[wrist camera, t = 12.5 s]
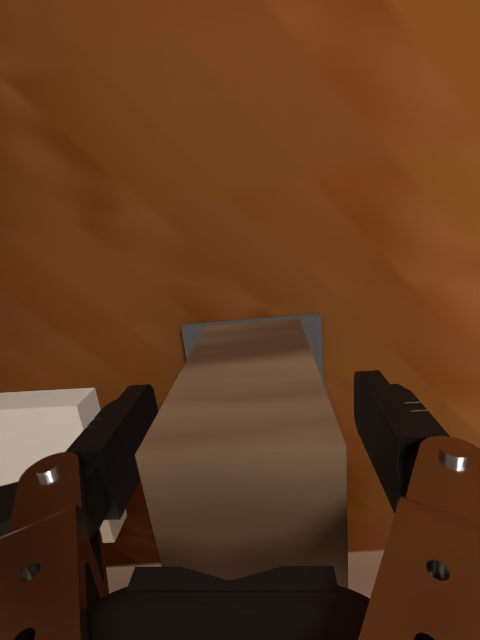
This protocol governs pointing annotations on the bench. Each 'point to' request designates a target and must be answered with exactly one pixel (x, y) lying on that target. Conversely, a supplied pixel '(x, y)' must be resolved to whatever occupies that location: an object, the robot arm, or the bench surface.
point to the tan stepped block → (247, 458)
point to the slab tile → (45, 433)
